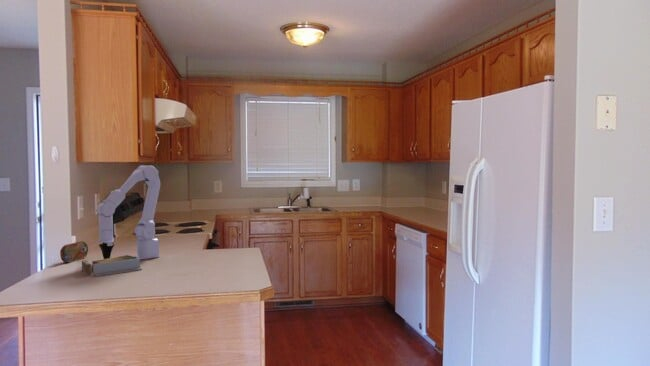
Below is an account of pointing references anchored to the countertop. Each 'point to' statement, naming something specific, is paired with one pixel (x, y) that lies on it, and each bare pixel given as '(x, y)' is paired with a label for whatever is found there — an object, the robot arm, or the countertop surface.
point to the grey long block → (116, 267)
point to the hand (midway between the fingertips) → (106, 259)
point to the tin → (74, 251)
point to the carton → (113, 259)
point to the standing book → (86, 267)
